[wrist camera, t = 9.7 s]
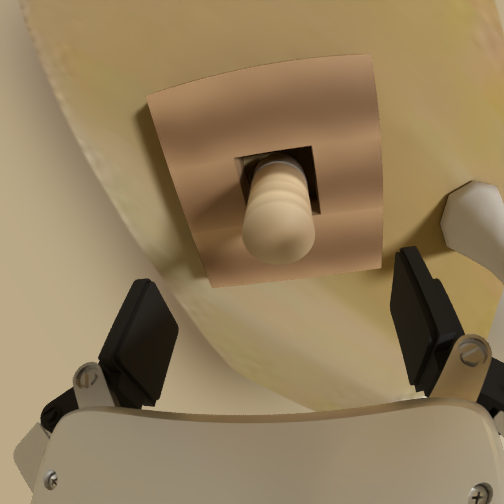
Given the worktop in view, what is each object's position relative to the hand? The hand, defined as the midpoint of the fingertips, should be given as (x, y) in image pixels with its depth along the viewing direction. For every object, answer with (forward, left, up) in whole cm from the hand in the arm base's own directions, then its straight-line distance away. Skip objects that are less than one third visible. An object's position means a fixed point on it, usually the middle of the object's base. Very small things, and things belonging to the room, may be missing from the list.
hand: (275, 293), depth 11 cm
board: (0, 0, -13) cm, 13 cm away
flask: (+6, +17, -14) cm, 23 cm away
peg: (0, 0, -13) cm, 13 cm away
